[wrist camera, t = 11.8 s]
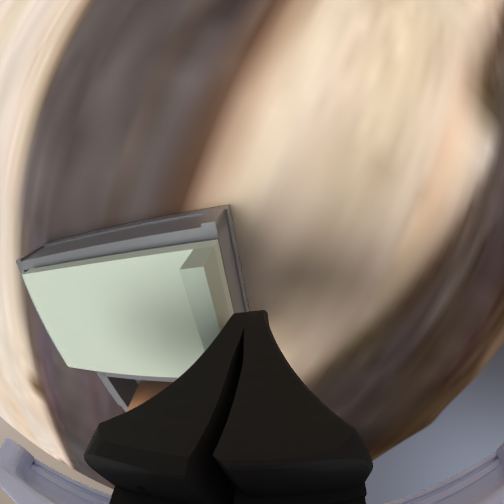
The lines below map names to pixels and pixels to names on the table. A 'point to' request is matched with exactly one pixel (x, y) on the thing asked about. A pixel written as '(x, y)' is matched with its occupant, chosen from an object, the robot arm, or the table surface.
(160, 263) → the lid
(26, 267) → the housing
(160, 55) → the table surface
